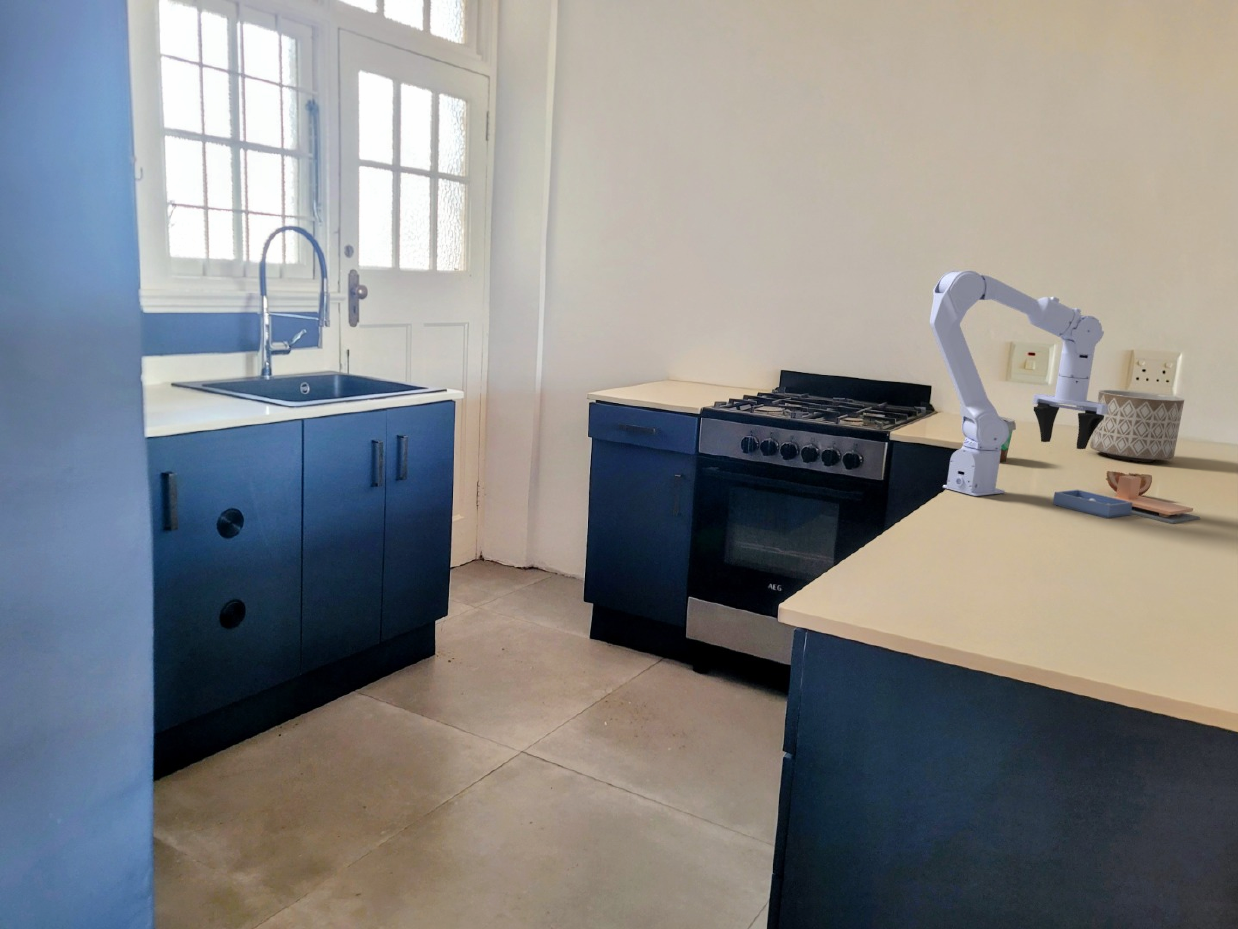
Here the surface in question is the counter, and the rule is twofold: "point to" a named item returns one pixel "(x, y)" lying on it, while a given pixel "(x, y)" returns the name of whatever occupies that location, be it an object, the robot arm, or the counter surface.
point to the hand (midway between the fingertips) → (1062, 445)
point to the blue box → (1092, 503)
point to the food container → (1005, 446)
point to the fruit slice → (1145, 479)
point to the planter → (1138, 425)
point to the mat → (1170, 519)
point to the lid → (1130, 492)
